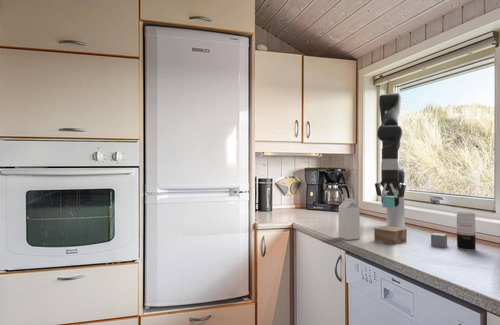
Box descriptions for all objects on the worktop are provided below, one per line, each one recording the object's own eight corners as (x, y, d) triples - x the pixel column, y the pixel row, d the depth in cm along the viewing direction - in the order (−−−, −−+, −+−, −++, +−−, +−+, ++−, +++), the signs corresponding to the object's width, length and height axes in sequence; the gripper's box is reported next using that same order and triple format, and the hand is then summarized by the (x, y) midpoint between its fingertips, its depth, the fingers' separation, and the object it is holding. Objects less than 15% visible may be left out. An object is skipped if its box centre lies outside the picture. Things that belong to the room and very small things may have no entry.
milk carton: (346, 240, 163) (346, 199, 163) (338, 237, 170) (338, 198, 170) (359, 239, 165) (359, 199, 165) (351, 236, 171) (351, 197, 172)
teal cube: (386, 206, 164) (386, 195, 164) (397, 207, 161) (397, 196, 161) (382, 207, 161) (382, 196, 161) (393, 208, 157) (393, 197, 157)
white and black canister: (458, 246, 150) (458, 211, 150) (476, 248, 145) (476, 212, 146) (455, 249, 145) (455, 212, 145) (474, 251, 140) (474, 214, 141)
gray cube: (434, 244, 155) (434, 232, 155) (447, 245, 151) (447, 234, 151) (431, 246, 151) (430, 234, 151) (443, 247, 148) (443, 235, 148)
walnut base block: (386, 238, 167) (386, 226, 168) (406, 242, 159) (406, 229, 160) (374, 241, 162) (374, 228, 162) (394, 245, 153) (394, 231, 154)
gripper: (409, 168, 159) (409, 206, 159) (378, 168, 169) (378, 204, 168) (402, 169, 153) (403, 207, 153) (371, 168, 163) (371, 205, 163)
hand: (390, 205), depth 161 cm, fingers closed on teal cube, 5 cm apart
